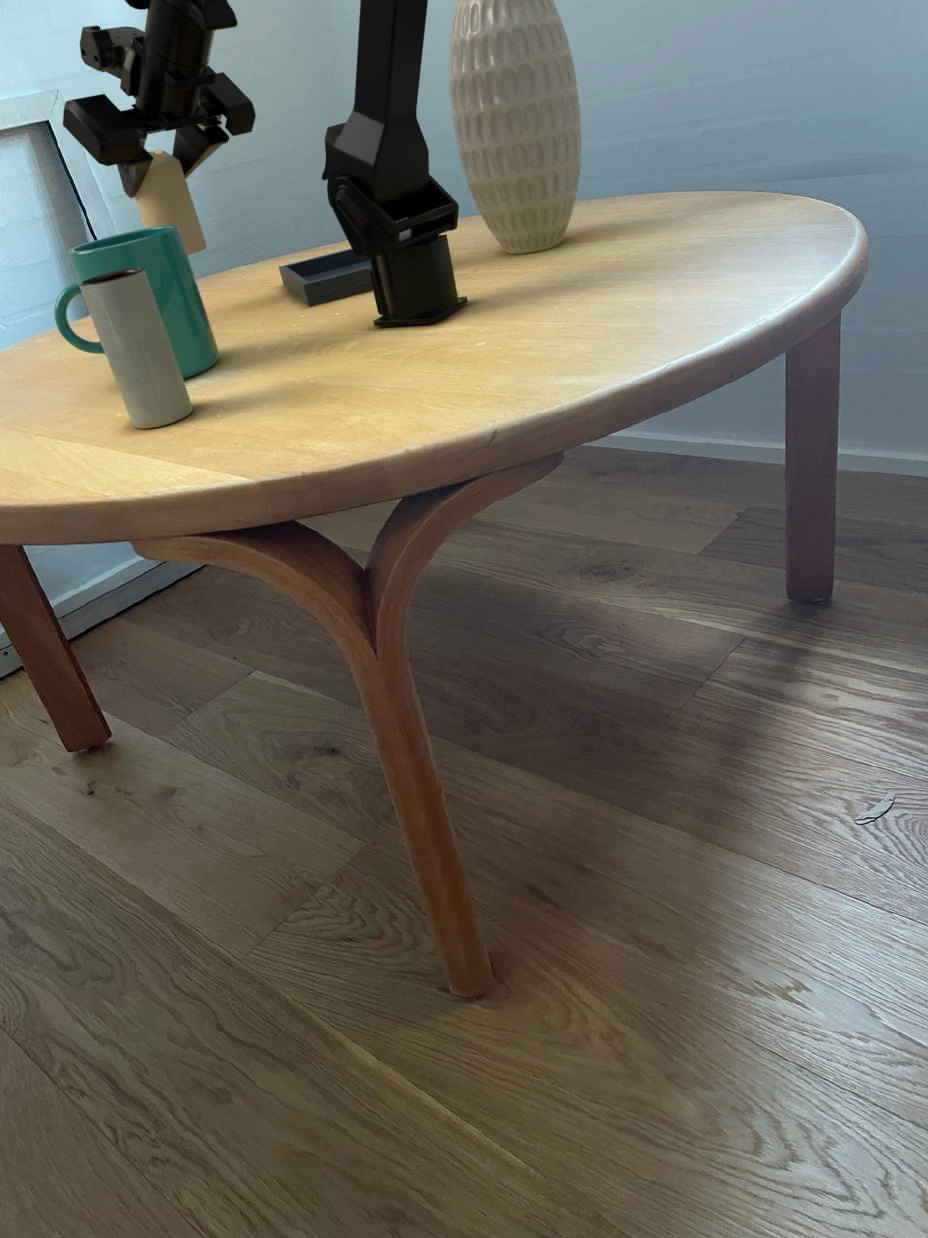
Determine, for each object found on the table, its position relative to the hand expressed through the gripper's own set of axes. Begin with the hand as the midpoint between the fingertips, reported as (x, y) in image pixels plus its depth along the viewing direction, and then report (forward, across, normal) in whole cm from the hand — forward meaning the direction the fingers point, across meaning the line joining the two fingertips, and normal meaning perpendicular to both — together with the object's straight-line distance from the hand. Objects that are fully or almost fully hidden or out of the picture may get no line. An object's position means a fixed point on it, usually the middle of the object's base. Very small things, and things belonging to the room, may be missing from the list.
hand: (152, 188), depth 95 cm
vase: (-11, -24, +30) cm, 40 cm away
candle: (+4, 0, +6) cm, 7 cm away
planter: (-11, +25, +30) cm, 41 cm away
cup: (-3, +18, +22) cm, 28 cm away
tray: (0, -13, +18) cm, 23 cm away
